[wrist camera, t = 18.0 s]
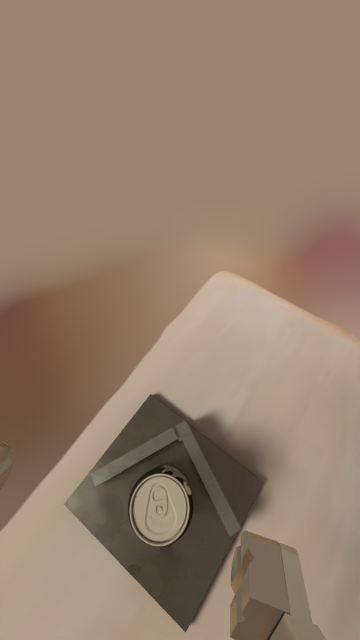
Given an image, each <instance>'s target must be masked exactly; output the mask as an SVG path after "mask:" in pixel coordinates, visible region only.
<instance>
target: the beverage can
mask: <svg viewBox="0 0 360 640" xmlns="http://www.w3.org/2000/svg"><path fill="white" fill-rule="evenodd" d="M192 515H193V498H192V493H191V490H190V487H189V485H188V482H187V479H186V477H185V476H184V474H183V473H182V472H181V471H180V470H179V469H177V468H176V467H174V466H171V465H160V466H157V467H155V468H153V469H152V470H150V471H148V472H146V473H145V474H143V475H142V476H141V477H140V478H139V479H138V480H137V482H136V483H135V485H134V486H133V488H132V490H131V493H130V496H129V501H128V517H129V521H130V524H131V527H132V529H133V531H134V533H135V534H136V535H137V537H138V538H139V539H140V540H141V541H143V542H144V543H146V544H148V545H150V546H154V547H166V546H169V545H171V544H173V543H175V542H176V541H178V540H179V539H180V538H181V537H182V536H183V535H184V534H185V532H186V531H187V529H188V527H189V525H190V522H191V519H192Z"/></svg>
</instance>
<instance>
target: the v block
mask: <svg viewBox="0 0 360 640" xmlns="http://www.w3.org/2000/svg"><path fill="white" fill-rule="evenodd" d="M160 465H171V466H174V467H176V468H177V469H179V470H180V471H181V472H182V473H183V474H184V476H185V477H186V479H187V482H188V485H189V487H190V490H191V493H192V498H193V515H192V519H191V522H190V525H189V527H188V529H187V531H186V532H185V534H184V535H183V536H182V537H181V538H180V539H179V540H178V541H176V542H175V543H173V544H171V545H169V546H166V547H154V546H150V545H148V544H146V543H144V542H143V541H141V540H140V539H139V538H138V537H137V535H136V534H135V533H134V531H133V529H132V527H131V524H130V521H129V517H128V501H129V496H130V493H131V490H132V488H133V486H134V485H135V483H136V482H137V480H138V479H139V478H140V477H141V476H142V475H143V474H145V473H146V472H148V471H150V470H152V469H153V468H155V467H157V466H160ZM262 484H263V482H261V481H260V480H259V479H257V478H256V477H255V476H254V475H252V474H251V473H250V472H249V471H247V470H246V469H245V468H244V467H242V466H241V465H240V464H239V463H237V462H236V461H235V460H234V459H232V458H231V457H230V456H228V455H227V454H226V453H225V452H223V451H222V450H221V449H220V448H218V447H217V446H216V445H215V444H213V443H212V442H211V441H210V440H208V439H207V438H206V437H204V436H203V435H202V434H201V433H199V432H198V431H197V430H196V429H194V428H193V427H192V426H191V425H189V424H188V423H187V422H186V420H183V419H182V418H181V417H179V416H178V415H177V414H175V413H174V412H173V411H172V410H170V409H169V408H168V407H167V406H165V405H164V404H163V403H162V402H160V401H159V400H158V399H157V398H155V397H154V396H153V395H150V396H149V397H148V398H147V400H146V401H145V402H144V403H143V405H142V406H141V407H140V409H139V410H138V411H137V412H136V414H135V415H134V416H133V417H132V419H131V420H130V421H129V423H128V424H127V425H126V426H125V428H124V429H123V430H122V431H121V433H120V434H119V435H118V437H117V438H116V439H115V440H114V442H113V443H112V444H111V445H110V447H109V448H108V449H107V451H106V452H105V453H104V454H103V456H102V457H101V458H100V459H99V461H98V462H97V463H96V465H95V466H94V467H93V468H92V470H91V471H90V472H89V473H88V475H87V476H86V477H85V479H84V480H83V481H82V482H81V484H80V485H79V486H78V487H77V489H76V490H75V491H74V493H73V494H72V495H71V496H70V498H69V499H68V500H67V501H66V503H65V506H66V507H67V508H68V509H69V510H70V511H71V512H72V513H73V514H74V515H75V516H76V517H77V518H78V519H79V520H80V521H81V522H82V523H83V525H84V526H85V527H86V528H87V529H88V530H89V531H90V532H91V533H92V534H93V535H94V536H95V537H96V538H97V539H98V540H99V541H100V542H101V544H102V545H103V546H104V547H105V548H106V549H107V550H108V551H109V552H110V553H111V554H112V555H113V556H114V557H115V558H116V559H117V560H118V561H119V563H120V564H121V565H122V566H123V567H124V568H125V569H126V570H127V571H128V572H129V573H130V574H131V575H132V576H133V577H134V578H135V579H136V580H137V582H138V583H139V584H140V585H141V586H142V587H143V588H144V589H145V590H146V591H147V592H148V593H149V594H150V595H151V596H152V597H153V598H154V599H155V600H156V602H157V603H158V604H159V605H160V606H161V607H162V608H163V609H164V610H165V611H166V612H167V613H168V614H169V615H170V616H171V617H172V618H173V619H174V621H175V622H176V623H177V624H178V625H179V626H180V627H181V628H182V629H183V630H184V631H185V632H186V630H187V629H188V627H189V625H190V623H191V621H192V619H193V617H194V615H195V613H196V611H197V609H198V607H199V605H200V603H201V601H202V600H203V598H204V596H205V594H206V592H207V590H208V588H209V586H210V584H211V582H212V580H213V578H214V576H215V574H216V573H217V571H218V569H219V567H220V565H221V563H222V561H223V559H224V557H225V555H226V553H227V551H228V549H229V547H230V545H231V544H232V542H233V540H234V538H235V536H236V534H237V532H238V531H239V530H240V529H241V527H240V526H241V524H242V522H243V520H244V518H245V517H246V515H247V513H248V511H249V509H250V507H251V505H252V503H253V501H254V499H255V497H256V495H257V493H258V491H259V489H260V488H261V486H262Z"/></svg>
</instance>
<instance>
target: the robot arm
mask: <svg viewBox="0 0 360 640" xmlns="http://www.w3.org/2000/svg"><path fill="white" fill-rule="evenodd" d="M11 454H12V446H10V445H7V444H5V443H2V442H0V489H1V488H2V487H3V486H4V484H5V483H6V481H7V480H8V478H9V476H10V474H11V470H12V462H11V461H10V459H9V456H10V455H11ZM231 587H232V589H233V591H234V593H235V596H234V598H233V600H232V603H231V605H230V637H231V638H233V639H235V640H326V639H325V637H324V635H323V634H322V632H321V630H320V629H319V627H318V626H317V625H314V624H312V620H311V615H310V610H309V605H308V600H307V595H306V590H305V585H304V580H303V575H302V571H301V566H300V561H299V556H298V553H297V551H296V549H295V548H293V547H290V546H287V545H284V544H281V543H278V542H277V541H274V540H271V539H268V538H266V537H263V536H260V535H257V534H254V533H251V532H248V531H244V532H243V534H242V536H241V546H239V547H237V548H236V551H235V553H234V557H233V562H232V569H231Z"/></svg>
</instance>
